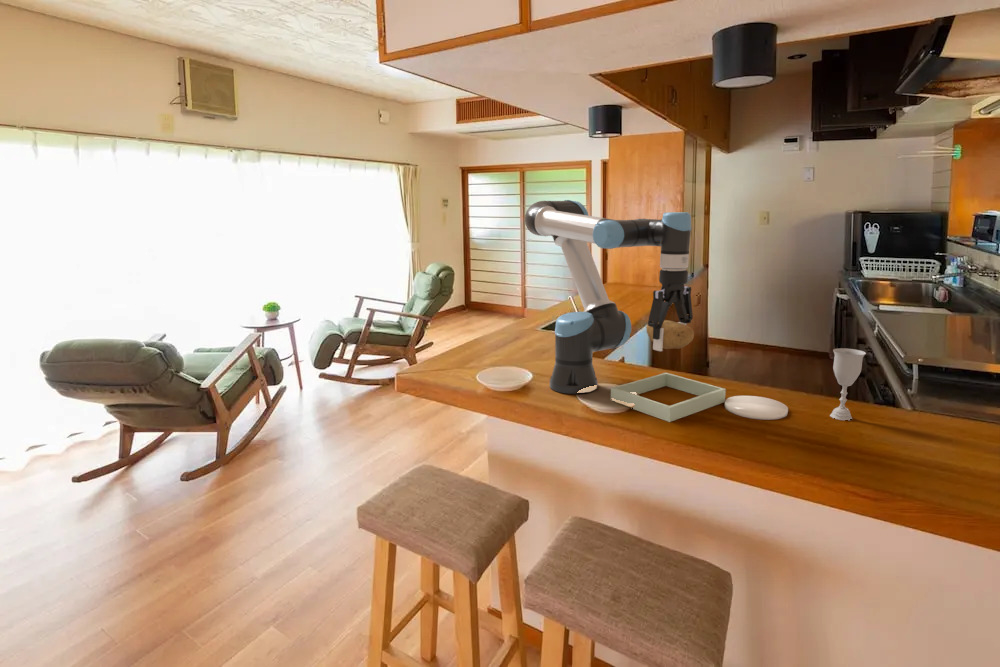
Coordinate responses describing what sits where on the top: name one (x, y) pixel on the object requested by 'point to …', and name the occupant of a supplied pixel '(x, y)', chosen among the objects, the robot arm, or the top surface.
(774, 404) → the plate
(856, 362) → the chalice
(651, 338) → the potato
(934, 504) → the top surface
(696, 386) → the crate
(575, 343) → the robot arm
